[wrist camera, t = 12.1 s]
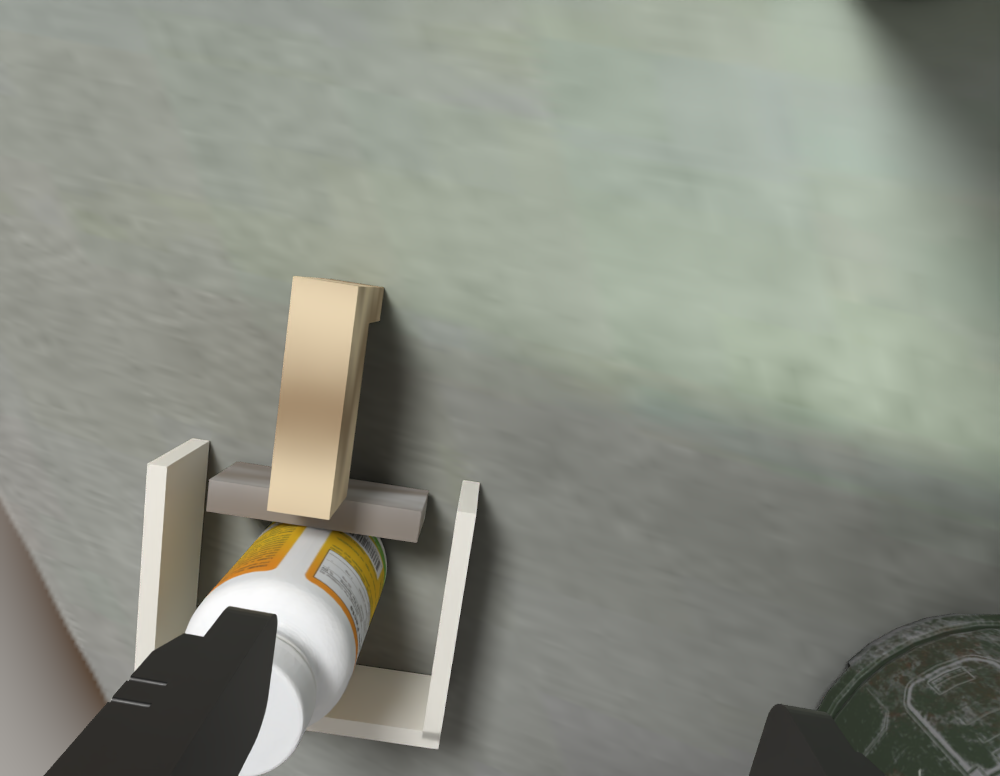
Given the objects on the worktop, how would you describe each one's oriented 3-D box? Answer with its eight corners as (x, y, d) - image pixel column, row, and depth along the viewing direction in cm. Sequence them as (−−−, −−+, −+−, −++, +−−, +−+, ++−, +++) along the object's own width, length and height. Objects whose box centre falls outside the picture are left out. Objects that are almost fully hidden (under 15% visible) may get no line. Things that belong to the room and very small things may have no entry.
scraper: (257, 267, 30) (203, 261, 24) (457, 299, 30) (447, 300, 24) (234, 490, 31) (177, 532, 26) (424, 518, 31) (409, 566, 26)
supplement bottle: (248, 602, 33) (117, 778, 22) (274, 484, 31) (149, 606, 20) (372, 633, 33) (306, 822, 22) (402, 517, 32) (348, 655, 21)
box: (192, 438, 31) (147, 463, 27) (479, 482, 31) (476, 514, 27) (176, 652, 33) (132, 705, 29) (445, 692, 33) (438, 749, 30)
